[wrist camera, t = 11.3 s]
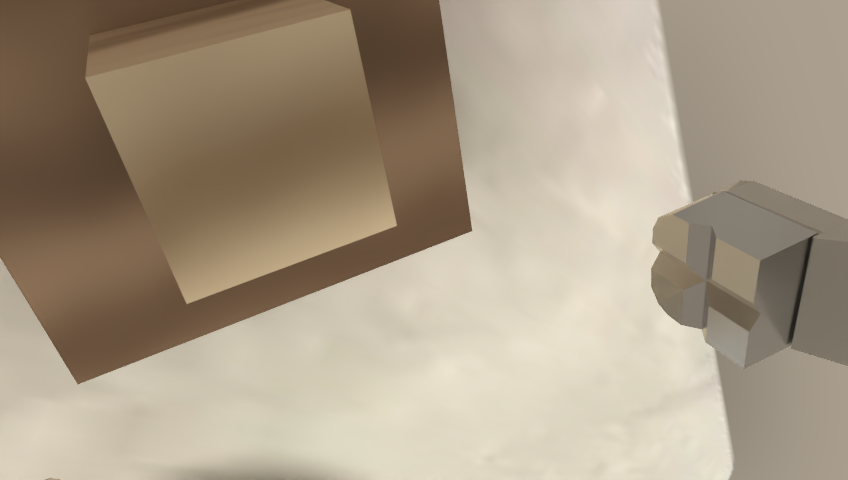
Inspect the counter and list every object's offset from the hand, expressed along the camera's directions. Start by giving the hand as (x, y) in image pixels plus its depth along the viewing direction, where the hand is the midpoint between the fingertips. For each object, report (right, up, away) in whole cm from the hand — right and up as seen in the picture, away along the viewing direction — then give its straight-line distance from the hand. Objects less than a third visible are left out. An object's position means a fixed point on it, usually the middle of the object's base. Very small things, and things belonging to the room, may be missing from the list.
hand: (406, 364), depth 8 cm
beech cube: (-6, +6, +12) cm, 15 cm away
